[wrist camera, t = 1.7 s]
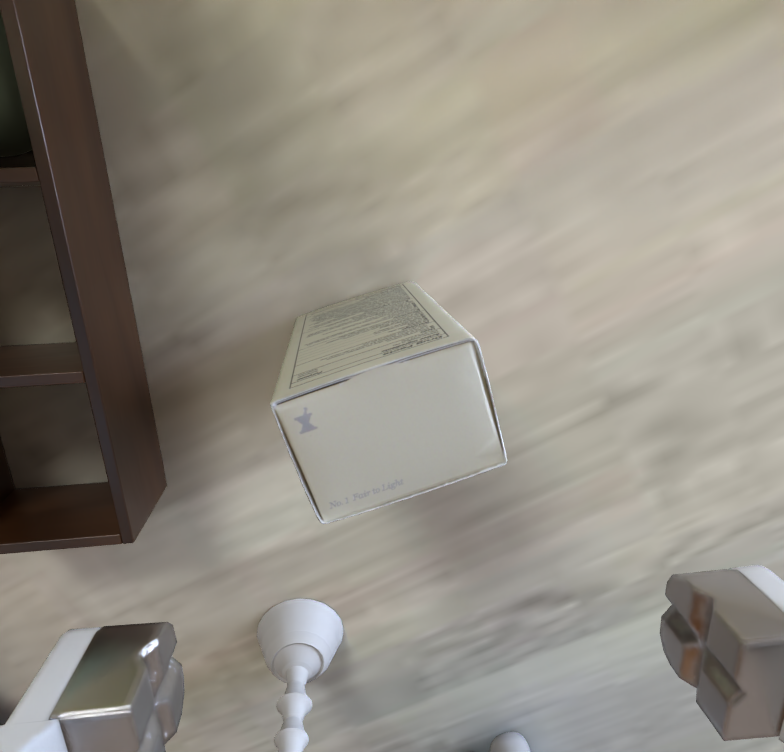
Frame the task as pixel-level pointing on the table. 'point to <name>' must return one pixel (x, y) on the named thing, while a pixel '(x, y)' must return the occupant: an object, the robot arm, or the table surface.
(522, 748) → the round bodied animal figurine
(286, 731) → the chalice
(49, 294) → the table surface
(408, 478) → the cosmetic box
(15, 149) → the towel roll
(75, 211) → the rack
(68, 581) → the table surface
